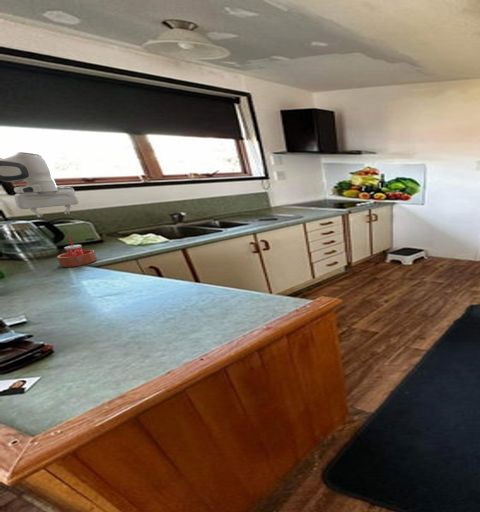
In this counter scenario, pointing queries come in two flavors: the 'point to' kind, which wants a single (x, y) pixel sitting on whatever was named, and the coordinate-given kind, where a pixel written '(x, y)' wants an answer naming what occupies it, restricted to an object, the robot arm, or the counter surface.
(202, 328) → the counter surface
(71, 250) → the beverage cup
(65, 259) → the bowl
